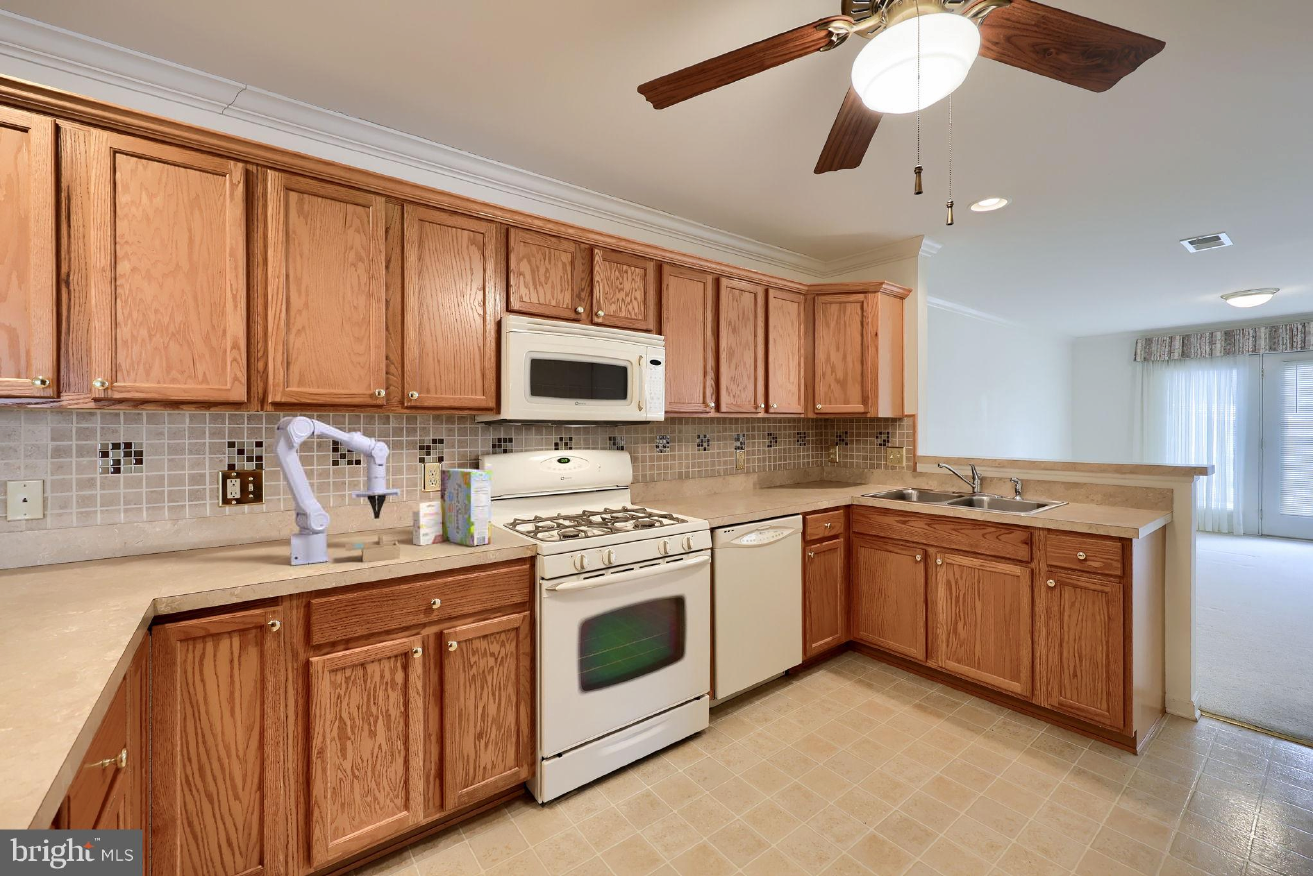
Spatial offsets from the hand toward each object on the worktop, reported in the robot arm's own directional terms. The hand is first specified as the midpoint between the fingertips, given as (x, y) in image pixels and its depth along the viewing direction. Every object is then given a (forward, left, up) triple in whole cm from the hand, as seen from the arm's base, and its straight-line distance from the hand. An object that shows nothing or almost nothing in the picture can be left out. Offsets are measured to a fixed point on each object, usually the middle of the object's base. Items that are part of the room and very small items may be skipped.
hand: (376, 518), depth 186 cm
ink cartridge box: (+16, +2, -11) cm, 19 cm away
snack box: (+28, -2, -11) cm, 30 cm away
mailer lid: (-5, -14, -6) cm, 16 cm away
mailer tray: (0, -14, -10) cm, 17 cm away
